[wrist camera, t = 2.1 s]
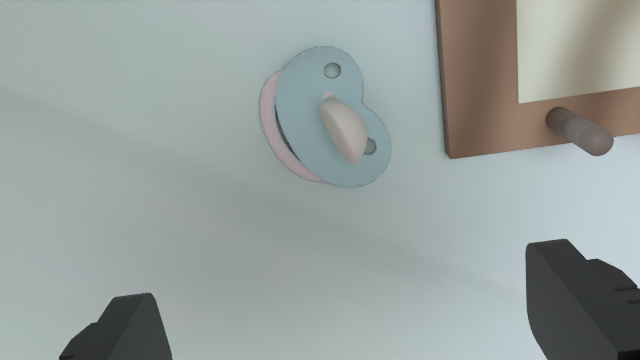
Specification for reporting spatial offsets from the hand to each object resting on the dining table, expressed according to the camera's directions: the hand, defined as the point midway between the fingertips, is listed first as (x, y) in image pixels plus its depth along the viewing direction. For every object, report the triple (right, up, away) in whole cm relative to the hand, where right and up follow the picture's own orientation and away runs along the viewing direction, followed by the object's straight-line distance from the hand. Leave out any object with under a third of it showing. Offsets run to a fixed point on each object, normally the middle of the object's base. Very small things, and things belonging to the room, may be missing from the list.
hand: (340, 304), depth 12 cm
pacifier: (0, +6, +17) cm, 18 cm away
